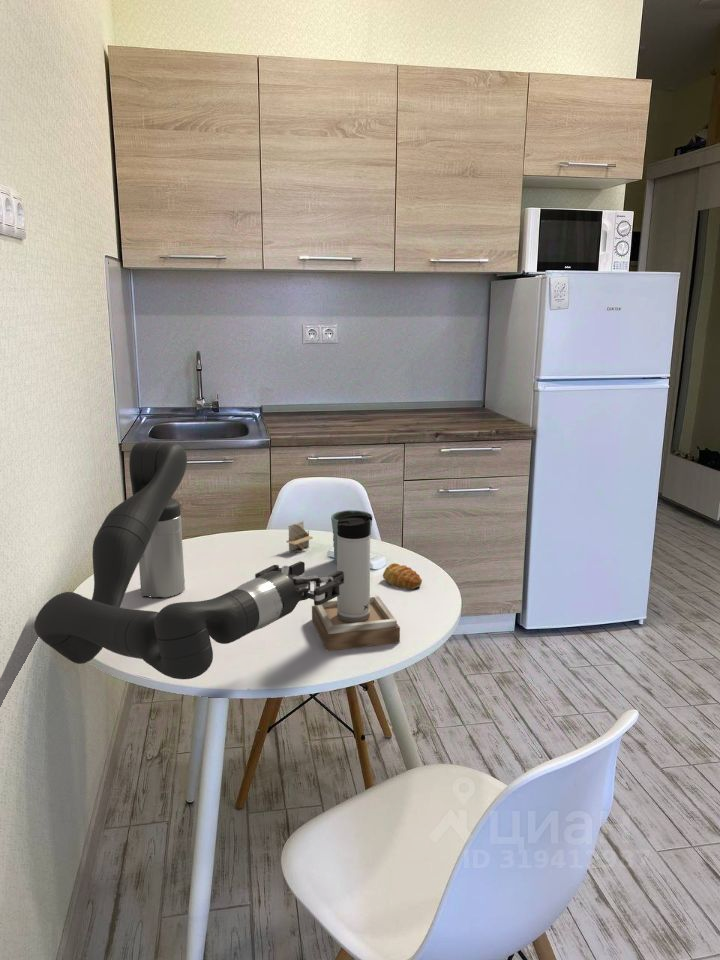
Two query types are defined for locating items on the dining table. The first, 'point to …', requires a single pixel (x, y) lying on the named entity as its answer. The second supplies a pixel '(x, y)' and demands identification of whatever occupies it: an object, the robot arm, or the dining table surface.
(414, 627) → the dining table surface
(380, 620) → the square wooden tray
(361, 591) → the travel mug
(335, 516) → the green cup
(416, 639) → the dining table surface
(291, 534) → the architectural model
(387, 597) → the dining table surface
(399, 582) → the pastry
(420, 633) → the dining table surface
